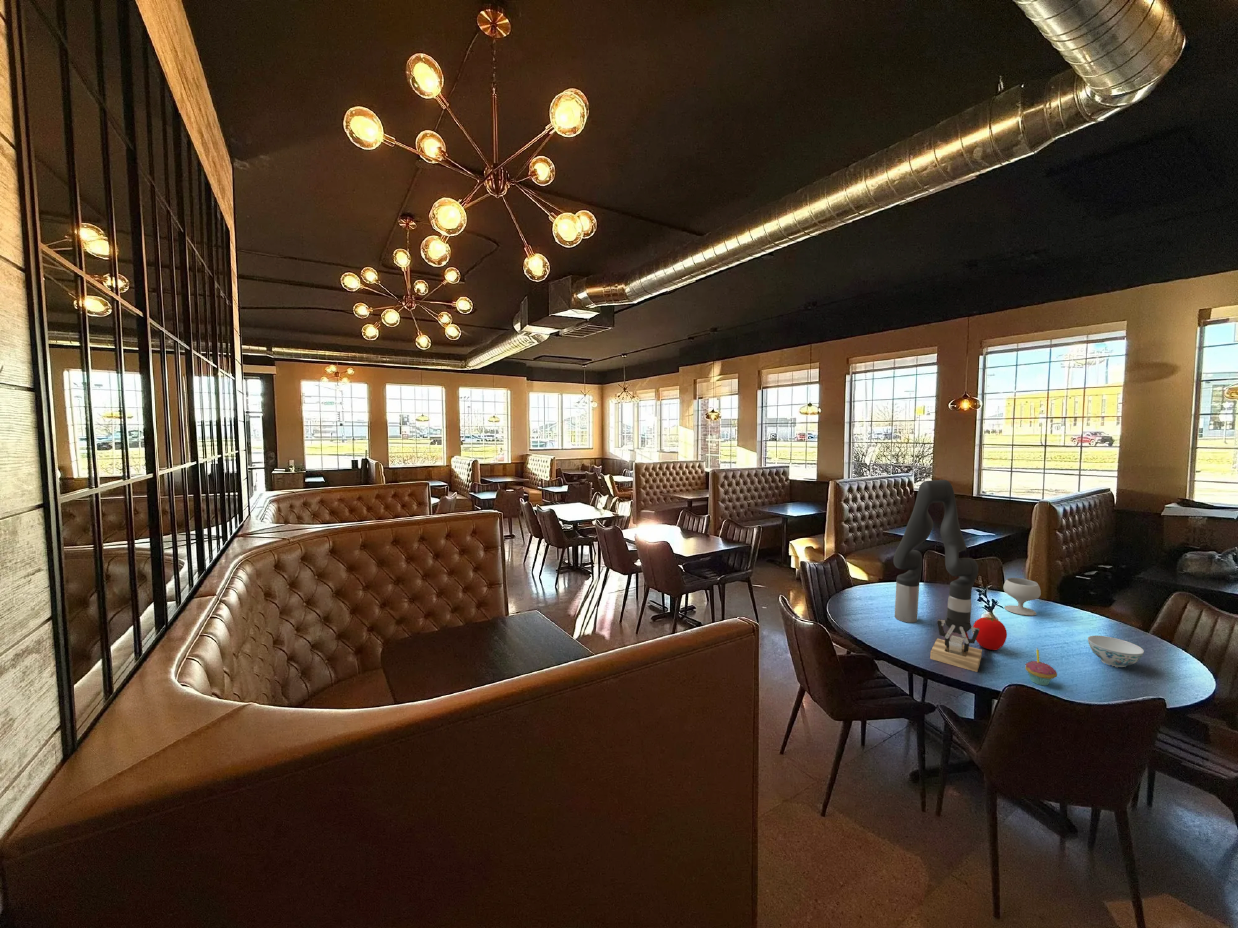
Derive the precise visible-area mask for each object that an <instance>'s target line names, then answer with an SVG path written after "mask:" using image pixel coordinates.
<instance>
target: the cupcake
mask: <svg viewBox="0 0 1238 928" xmlns="http://www.w3.org/2000/svg"><path fill="white" fill-rule="evenodd" d="M1035 651H1036V660H1031V661H1028V662H1026V663H1025V667H1024V669H1025V670H1026V672H1027V673H1028V676H1029V679H1030V681H1031V682H1033V683H1034V684H1036V685H1039V686H1049V684H1050V682H1051V681H1052V679H1055V678H1057V676H1058V672H1057V671H1056V669H1055V668H1054V667H1053V666H1051V665H1049V664H1048V663H1045V662H1042V661H1040V652H1039V651H1040V650H1039V649H1038V647H1036V649H1035Z"/></svg>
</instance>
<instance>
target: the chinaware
mask: <svg viewBox="0 0 1238 928" xmlns="http://www.w3.org/2000/svg"><path fill="white" fill-rule="evenodd" d="M1087 642H1088V645H1089V649H1090V650H1091V651H1092V652H1093V654H1094V655H1095V656H1097V657H1098V658H1099V659H1100V661H1101V662H1102V663H1103V664H1105V663H1106V664H1105V665H1107V664H1108V666H1110V665H1112V666H1111V667H1113V666H1115V667H1114V668H1118V667H1125V668H1126V667H1127V666H1131V665H1133V664H1135V663H1137V662H1139V661H1140V660H1141V659H1142V657H1143V655H1144V653H1145V652H1144V649H1143V648H1142V647H1140V646H1139V645H1137V644H1134V643H1133V642H1130V641H1126V640H1124V639H1120V638H1117V637H1116V638H1115V637H1112V636H1111V637H1110V636H1106V635H1105V636H1104V635H1090V636H1088V637H1087Z"/></svg>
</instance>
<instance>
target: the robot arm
mask: <svg viewBox="0 0 1238 928" xmlns="http://www.w3.org/2000/svg"><path fill="white" fill-rule="evenodd" d="M933 503H942V504H943V508H944V515H943V519H942V521H941V524H940V529H939V531H940V532H939V533H940V537H941V540H942V543H943V546H944V564H945V570H946V571H947V573H948V574H949V575H950V576H952V577H956V578H957V577H958V578H957V579H955V580H952V581H950V583H949V590H948V599H947V604H946V605H947V608H946V609H947V610H946V619H941V618H938V619H937V621H936V623H937V628H938V631H939V636H940V637H943V638H944V640H945V646H947V648H949V640H950V638H951V636H952V633H953V634H959V635H961V636H962V638H964V642H963V645H964V652H966V651H968V650H969V647H970V644H975V643H976V642H977V641H976V638H977V636H978V633H979V630H980V629H979V628H974V627H973V625H972V624H971V615H972V590H973V586H974V584H975V582H976V580H977V577H978V574H979V565H978V562H977V561H976V560H975V559H974V558H972V557H960V556H959V555H960V553H962V552H965V551H966V549H967V545H966V542H965V539H964V536H963V533H962V530H961V527H960V526H961V525H960V522H959V514H958V508H957V502H956V497H955V490H954V487H953V486H952V483H951V482H950V481H949V480H947V479H935V480H934V479H933V480H932V479H931V480H925V481H922V482H921V483H920V485H919V487H918V491H917V495H916V499H915V503H914V506H913V509H912V512H911V515H910V518H909V519H908V522H907V524H906V528H905V529H904V533H903V536H902V537H901V538H902V539H901V540H900V543H899V544H898V546H897V547H896V550H895V552H894V554H893V565H894V567H895V568H896V569H898V570H905V571H906V570H907V571H906V572H904V573H901V574H898V575H897V576H896V581H895V583H896V585H895V601H894V618H895V619H896V620H897V621H900V622H903V623H917V622H918V612H919V597H920V595H919V594H920V582H921V578H922V569H923V568H922V567H923V555H922V553H921V552H920V551H919V550H916V549H915V548H917V547H918V546H920V545H921V544H922V543H924V542H925V541H927V540H928V539H929V537H930V535H931V533H932V530H933V528H934V521H933V519H932V516H931V514H930V513H929V507H930V505H931V504H933ZM945 624H946V626H947V628H948V630H947V631H946V632H945V630H944V625H945ZM970 630H971V633H974V634H973V635H972V637H971V638H969V637H970V636H969V634H968V632H969V631H970Z"/></svg>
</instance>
